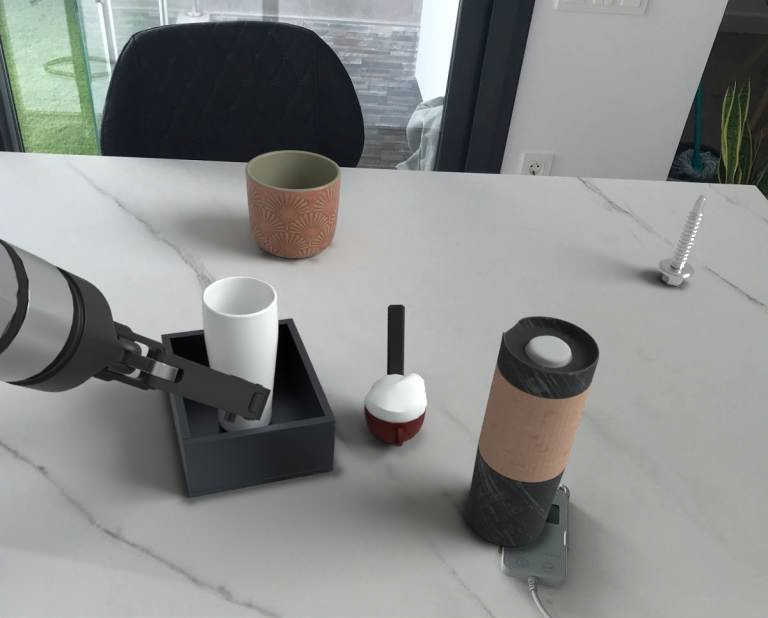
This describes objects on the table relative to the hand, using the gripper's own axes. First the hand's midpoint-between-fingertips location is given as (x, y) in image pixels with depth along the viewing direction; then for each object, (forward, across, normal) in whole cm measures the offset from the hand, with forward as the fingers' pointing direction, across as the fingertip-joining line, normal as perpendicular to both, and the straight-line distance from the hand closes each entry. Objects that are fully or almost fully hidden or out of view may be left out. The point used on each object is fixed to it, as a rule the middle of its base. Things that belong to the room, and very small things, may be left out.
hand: (192, 378), depth 66 cm
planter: (+38, -14, +22) cm, 46 cm away
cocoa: (+18, +14, +2) cm, 23 cm away
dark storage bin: (+13, 0, -3) cm, 14 cm away
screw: (+51, +36, +35) cm, 72 cm away
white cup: (+13, 0, -2) cm, 13 cm away
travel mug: (+14, +28, -2) cm, 31 cm away
